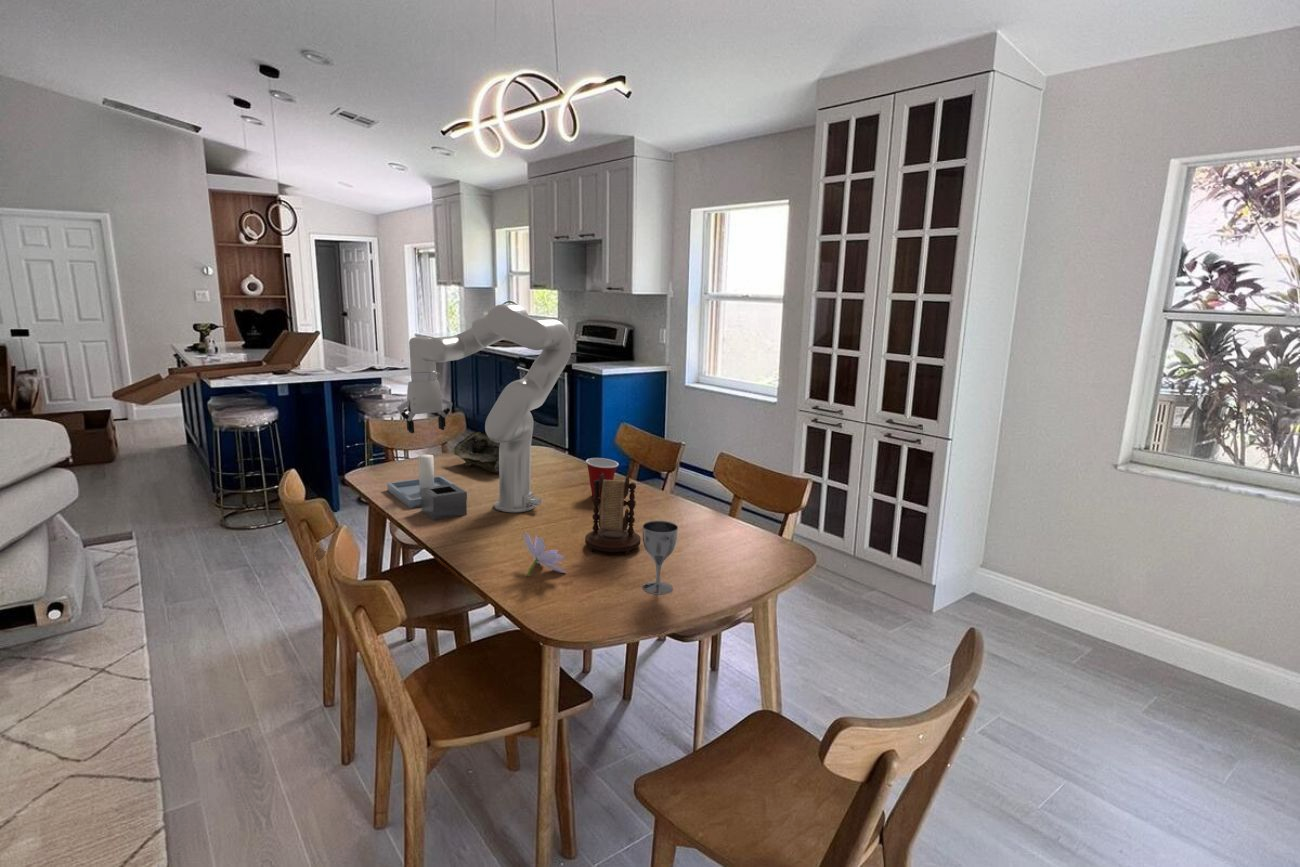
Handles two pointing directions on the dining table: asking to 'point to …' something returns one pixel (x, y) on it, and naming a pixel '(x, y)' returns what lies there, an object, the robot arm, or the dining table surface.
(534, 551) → the water lily
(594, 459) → the plastic cup
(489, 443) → the hollow geode rock
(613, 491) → the scroll
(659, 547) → the wine glass
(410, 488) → the tray
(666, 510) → the dining table surface
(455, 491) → the socket block
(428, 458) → the dowel pin
